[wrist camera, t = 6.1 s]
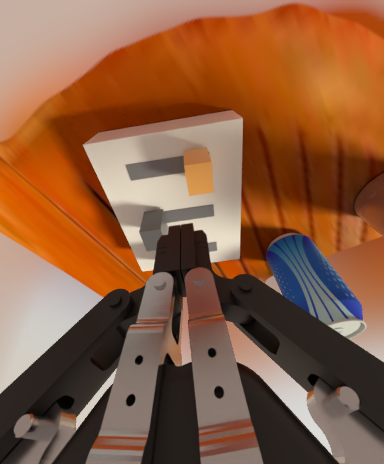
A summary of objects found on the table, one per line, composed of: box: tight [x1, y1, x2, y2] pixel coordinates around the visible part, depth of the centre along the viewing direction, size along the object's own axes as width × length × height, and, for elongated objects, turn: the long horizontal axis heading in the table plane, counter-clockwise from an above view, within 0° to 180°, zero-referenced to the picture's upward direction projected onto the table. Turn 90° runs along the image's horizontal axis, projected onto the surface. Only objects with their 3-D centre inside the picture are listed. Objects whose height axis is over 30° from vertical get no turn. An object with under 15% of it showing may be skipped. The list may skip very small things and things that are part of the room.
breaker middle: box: [139, 209, 168, 251], centre depth 24 cm, size 2×3×4 cm
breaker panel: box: [83, 110, 243, 271], centre depth 27 cm, size 16×20×5 cm
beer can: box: [266, 233, 366, 339], centre depth 31 cm, size 8×8×16 cm
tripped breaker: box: [183, 147, 214, 196], centre depth 19 cm, size 2×3×4 cm
